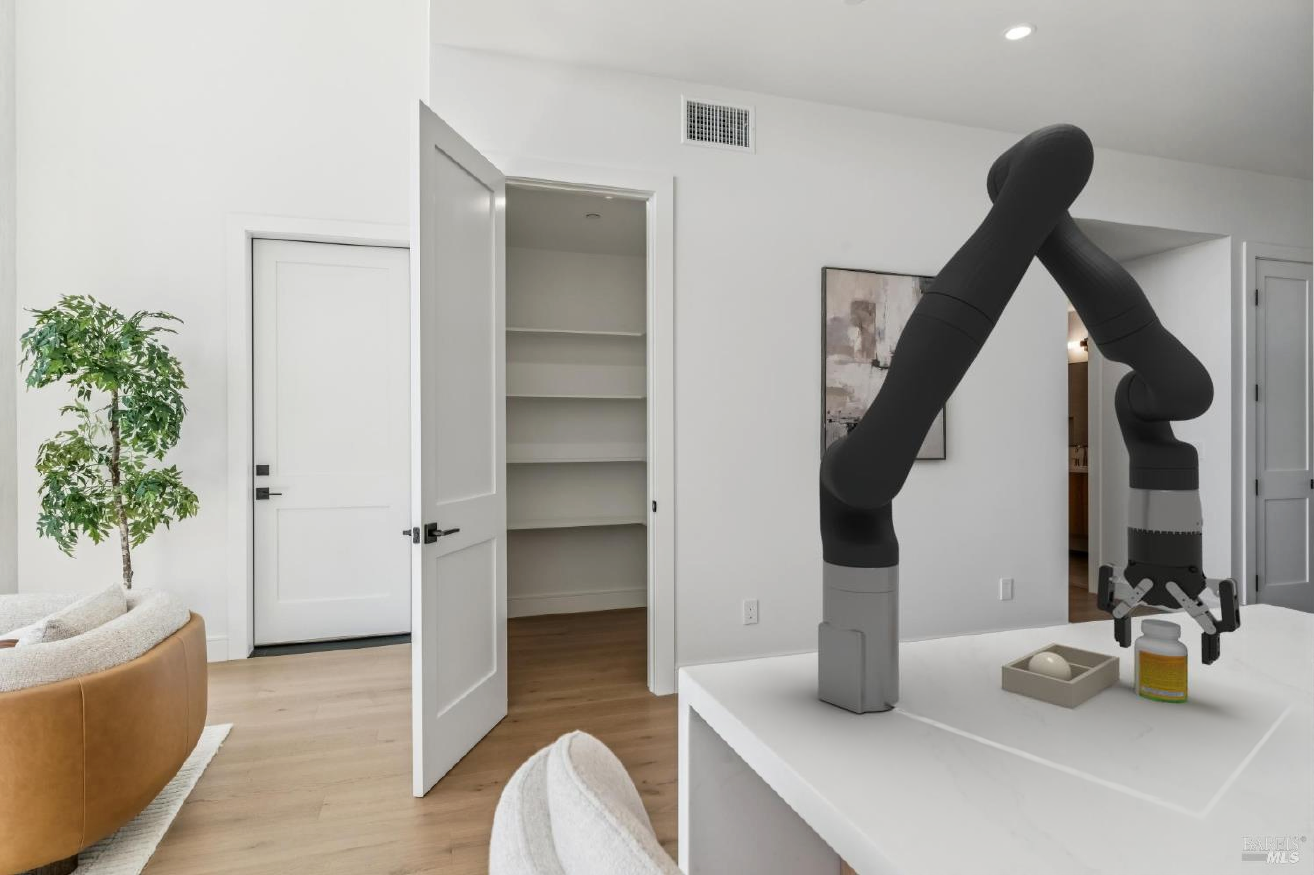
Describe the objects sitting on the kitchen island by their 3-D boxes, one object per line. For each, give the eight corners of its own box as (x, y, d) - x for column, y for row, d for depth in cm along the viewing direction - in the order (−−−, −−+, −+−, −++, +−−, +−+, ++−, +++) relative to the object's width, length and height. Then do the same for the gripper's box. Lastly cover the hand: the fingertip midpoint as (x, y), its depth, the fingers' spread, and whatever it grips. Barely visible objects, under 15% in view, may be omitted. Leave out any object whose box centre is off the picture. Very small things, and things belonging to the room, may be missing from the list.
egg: (1062, 700, 84) (1062, 661, 84) (1021, 689, 88) (1021, 651, 88) (1077, 691, 87) (1077, 653, 87) (1037, 681, 91) (1037, 644, 91)
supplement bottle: (1197, 711, 82) (1197, 630, 82) (1147, 707, 83) (1147, 627, 83) (1173, 694, 88) (1173, 618, 88) (1126, 691, 89) (1126, 616, 89)
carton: (1072, 713, 82) (1072, 684, 81) (1001, 693, 88) (1001, 666, 88) (1119, 683, 91) (1119, 657, 91) (1053, 667, 98) (1053, 642, 98)
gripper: (1088, 522, 89) (1089, 647, 89) (1228, 533, 78) (1230, 676, 78) (1109, 517, 93) (1111, 636, 93) (1244, 527, 82) (1246, 662, 82)
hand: (1165, 654), depth 86 cm, fingers open, 8 cm apart
